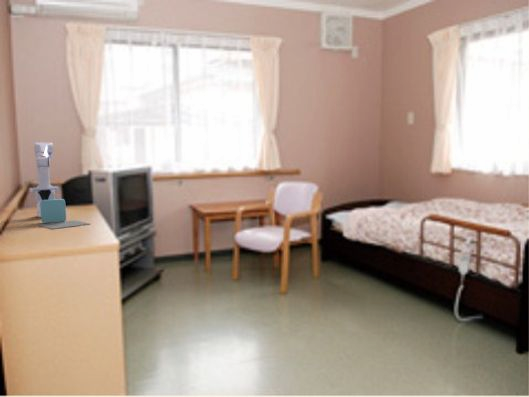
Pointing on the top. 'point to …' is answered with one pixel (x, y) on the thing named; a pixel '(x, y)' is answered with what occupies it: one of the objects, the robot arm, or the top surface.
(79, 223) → the mat
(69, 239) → the top surface
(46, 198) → the robot arm
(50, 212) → the blue square block
